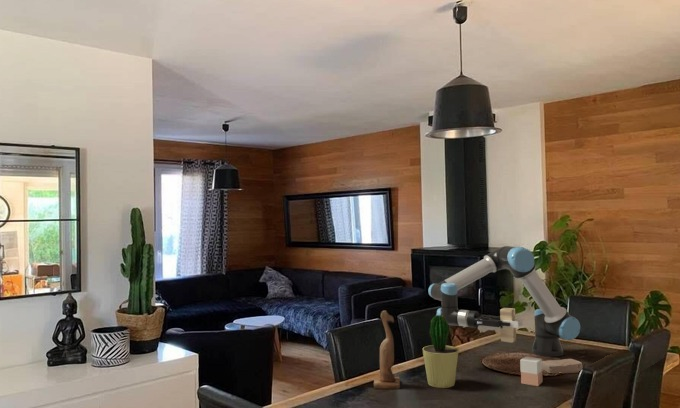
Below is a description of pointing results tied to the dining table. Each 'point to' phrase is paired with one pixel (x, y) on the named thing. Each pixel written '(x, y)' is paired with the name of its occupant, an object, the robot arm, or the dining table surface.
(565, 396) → the dining table surface
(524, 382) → the tower base
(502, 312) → the oak pillar
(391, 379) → the bird sculpture
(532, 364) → the tower top
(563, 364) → the brick
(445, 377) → the potted cactus
